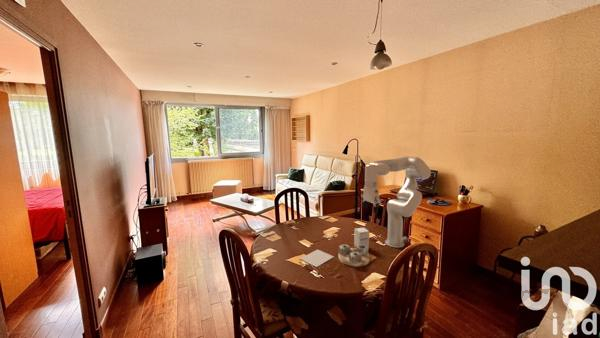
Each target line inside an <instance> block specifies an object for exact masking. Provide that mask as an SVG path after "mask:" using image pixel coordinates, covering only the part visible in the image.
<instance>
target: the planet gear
mask: <svg viewBox="0 0 600 338" xmlns="http://www.w3.org/2000/svg"><path fill="white" fill-rule="evenodd" d="M361 246H362V245H358V246H357V247H355V248H356V249H357V250H358V252H359V253H360V254H362V255H363V256H364V255H367V254H369V249H368V247H367V246H365V245H363V246H364V248H361Z"/></svg>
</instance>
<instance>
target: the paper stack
mask: <svg viewBox="0 0 600 338" xmlns="http://www.w3.org/2000/svg"><path fill="white" fill-rule="evenodd" d="M333 258H335V256H334V255H332V254H329V253H327V252H325V251H322V250H320V249H315V250H314V251H312V252H310V253H308V254H306V255H304V256H302V257H301V258H299V259H300V260H302V261H303V262H306V263H308V264H310V265H311V266H314V267H316V268H318V267H320V266H321V265H322V264H324V263H326V262H327V261H329V260H331V259H333Z"/></svg>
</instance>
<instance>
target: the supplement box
mask: <svg viewBox="0 0 600 338" xmlns="http://www.w3.org/2000/svg"><path fill="white" fill-rule="evenodd" d="M353 233H354V234H353V235H354V237H353V240H354V241H353V246H354V248H356V247H357V246H358V245H365V246H367V247H368V250H369V247H370V230H368V229H367V228H366V227H357V228H354V232H353Z"/></svg>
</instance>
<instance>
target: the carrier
mask: <svg viewBox="0 0 600 338" xmlns="http://www.w3.org/2000/svg"><path fill="white" fill-rule="evenodd" d="M361 248H364V246H363V245H362V246H361ZM338 260H339V261H340V262H341V263H342V264H344V265H346V266H350V267H355V268H358V267H364V266H366V265H368V264H370V262H371V255H370V254H369V253H368V254H367V255H364V256H363V255H362V254H360V253H359V252H358V250H357V249H356V247H351V246H350V245H348V244H339V246H338Z"/></svg>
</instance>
